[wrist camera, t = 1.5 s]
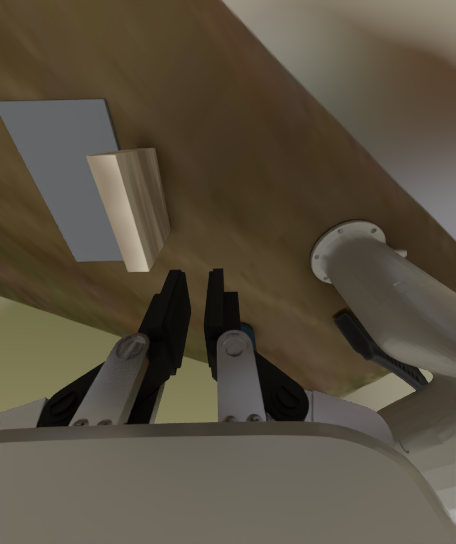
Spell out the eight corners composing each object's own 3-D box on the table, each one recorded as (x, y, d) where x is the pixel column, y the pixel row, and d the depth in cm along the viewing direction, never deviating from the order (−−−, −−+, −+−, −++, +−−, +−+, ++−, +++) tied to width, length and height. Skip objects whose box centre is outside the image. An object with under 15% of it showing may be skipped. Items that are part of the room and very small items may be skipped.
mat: (106, 100, 24) (103, 99, 24) (149, 258, 37) (148, 259, 36) (-2, 102, 24) (-7, 101, 24) (78, 259, 37) (76, 261, 36)
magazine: (343, 346, 38) (447, 435, 41) (359, 337, 36) (466, 430, 39) (324, 299, 53) (401, 366, 56) (334, 291, 52) (412, 360, 55)
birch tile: (155, 147, 27) (115, 155, 17) (171, 231, 34) (149, 271, 24) (136, 148, 27) (85, 155, 17) (156, 231, 34) (128, 272, 24)
